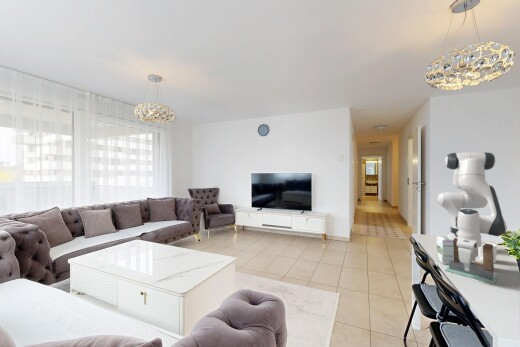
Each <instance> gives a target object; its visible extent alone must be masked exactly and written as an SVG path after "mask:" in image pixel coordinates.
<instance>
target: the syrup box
mask: <svg viewBox="0 0 520 347" xmlns="http://www.w3.org/2000/svg"><path fill="white" fill-rule="evenodd" d="M436 252H437V254H436V256H437V257H436V258H437V261H438V262H439V263H441V264H442V265H448V266H449V261H450V260H452V261H454V249H453V240H452V239H450V238H448V236H436Z"/></svg>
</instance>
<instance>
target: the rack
mask: <svg viewBox="0 0 520 347" xmlns="http://www.w3.org/2000/svg"><path fill="white" fill-rule="evenodd" d="M486 243H487V242H486ZM486 243H485V245H483V261H482V263H481V262H477V261H475V265H474V266H477V267H482V268H486V269H490V270H493V271H494V269H495V267H494V263H493V245H492V244H493V243H491V244H486ZM453 249H454V261H457V262H460V260H459V252H458V246H457V238H454V240H453Z"/></svg>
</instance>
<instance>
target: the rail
mask: <svg viewBox="0 0 520 347" xmlns="http://www.w3.org/2000/svg"><path fill="white" fill-rule="evenodd" d="M448 267H449V269H452V270H455V271H459V272H463V273H467V274H471V275H474V276H478V277H482V278H486V279H489V280H492V279H493V276H494V269H493V270H490V269H486V268H482V267H477V266H473V265H470V271H466V270H465V267H464V263H461V262H457V261H452V260H450V261H449V265H448Z"/></svg>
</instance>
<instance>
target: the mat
mask: <svg viewBox="0 0 520 347" xmlns="http://www.w3.org/2000/svg"><path fill="white" fill-rule="evenodd" d="M444 271H445V272H448V273H451V274H456V275H458V274H459V276H462V275H463V276H462V277H467V278H469V277H470V279H473V278H474V279H473V280H476V281H480V282H485V283H488V284H492V285H495V283H496V282H497V279H498V277H496V276H494V275H493V279H492V280H489V279H486V278H482V277H478V276H474V275H471V274H467V273H463V272H459V271H455V270H452V269H449V266H447V267H446V268H445V269H444Z"/></svg>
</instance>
